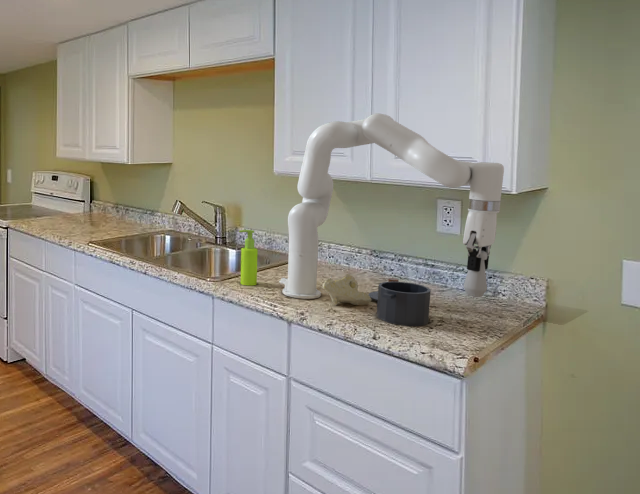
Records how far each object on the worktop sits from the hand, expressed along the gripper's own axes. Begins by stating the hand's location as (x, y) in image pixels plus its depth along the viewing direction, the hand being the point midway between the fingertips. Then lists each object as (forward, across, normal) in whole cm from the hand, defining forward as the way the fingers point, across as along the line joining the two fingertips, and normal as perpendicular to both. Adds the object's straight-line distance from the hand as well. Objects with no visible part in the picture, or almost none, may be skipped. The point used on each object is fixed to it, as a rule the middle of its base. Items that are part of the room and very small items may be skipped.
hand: (477, 268), depth 158 cm
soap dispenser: (+17, +20, -68) cm, 73 cm away
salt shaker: (+8, 0, 0) cm, 8 cm away
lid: (+16, -2, -25) cm, 30 cm away
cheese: (+17, +16, -31) cm, 39 cm away
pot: (+16, +14, -13) cm, 25 cm away
